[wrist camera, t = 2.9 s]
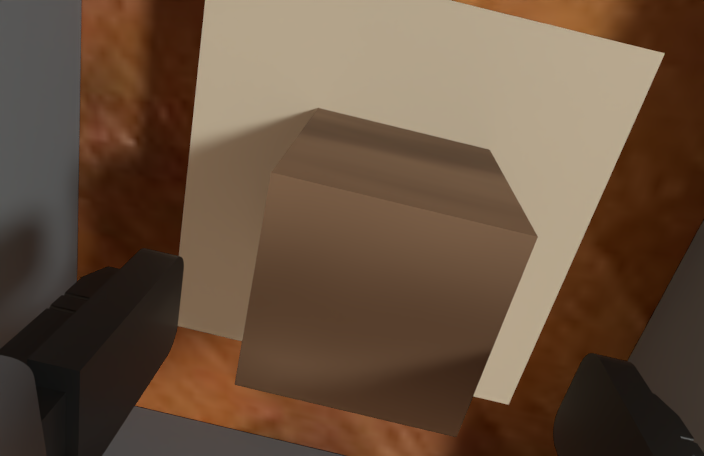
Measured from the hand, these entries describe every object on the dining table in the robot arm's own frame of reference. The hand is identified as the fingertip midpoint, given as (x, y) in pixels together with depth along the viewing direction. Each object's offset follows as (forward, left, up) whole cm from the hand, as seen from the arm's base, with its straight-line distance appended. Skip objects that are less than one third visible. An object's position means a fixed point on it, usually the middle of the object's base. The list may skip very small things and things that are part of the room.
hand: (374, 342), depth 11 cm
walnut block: (0, 0, -6) cm, 6 cm away
